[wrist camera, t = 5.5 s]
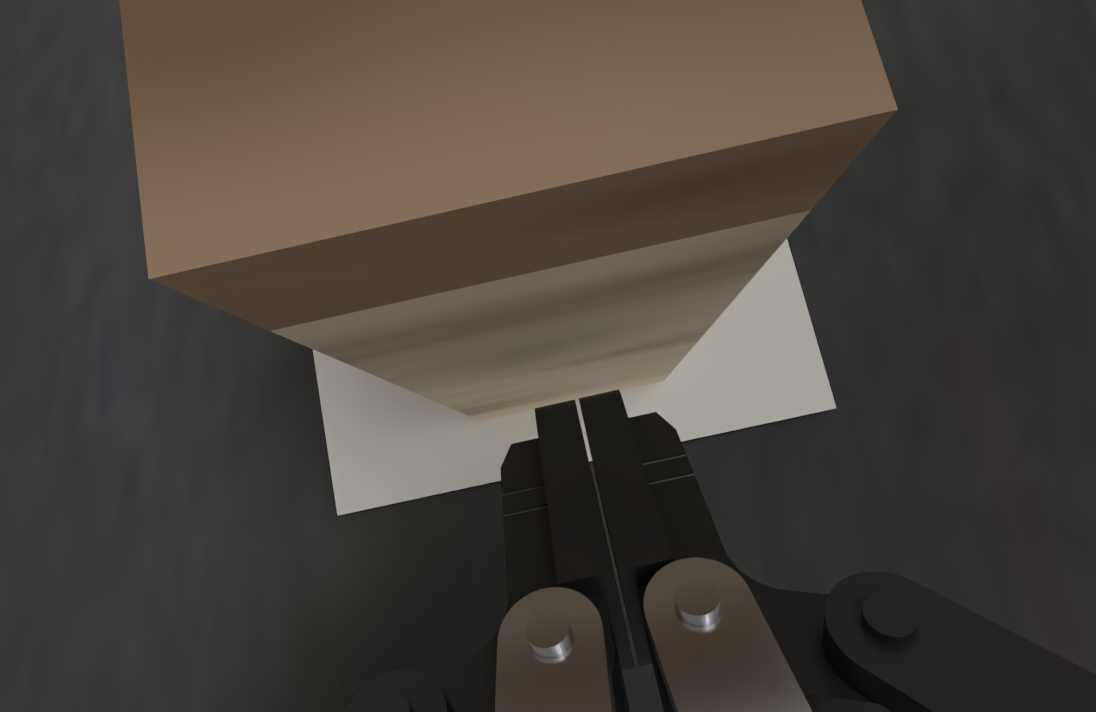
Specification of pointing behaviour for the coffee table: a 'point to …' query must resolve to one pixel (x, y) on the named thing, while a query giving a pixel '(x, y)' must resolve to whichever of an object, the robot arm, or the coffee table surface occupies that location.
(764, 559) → the coffee table surface
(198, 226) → the maple block
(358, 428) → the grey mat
